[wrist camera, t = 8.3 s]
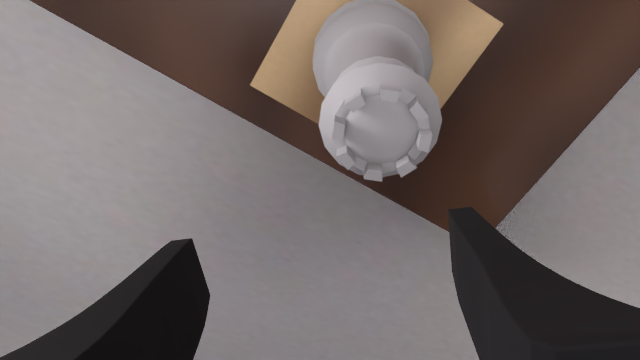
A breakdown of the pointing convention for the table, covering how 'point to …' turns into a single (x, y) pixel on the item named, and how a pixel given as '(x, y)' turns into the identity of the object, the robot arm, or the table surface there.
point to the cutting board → (445, 80)
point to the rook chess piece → (376, 88)
